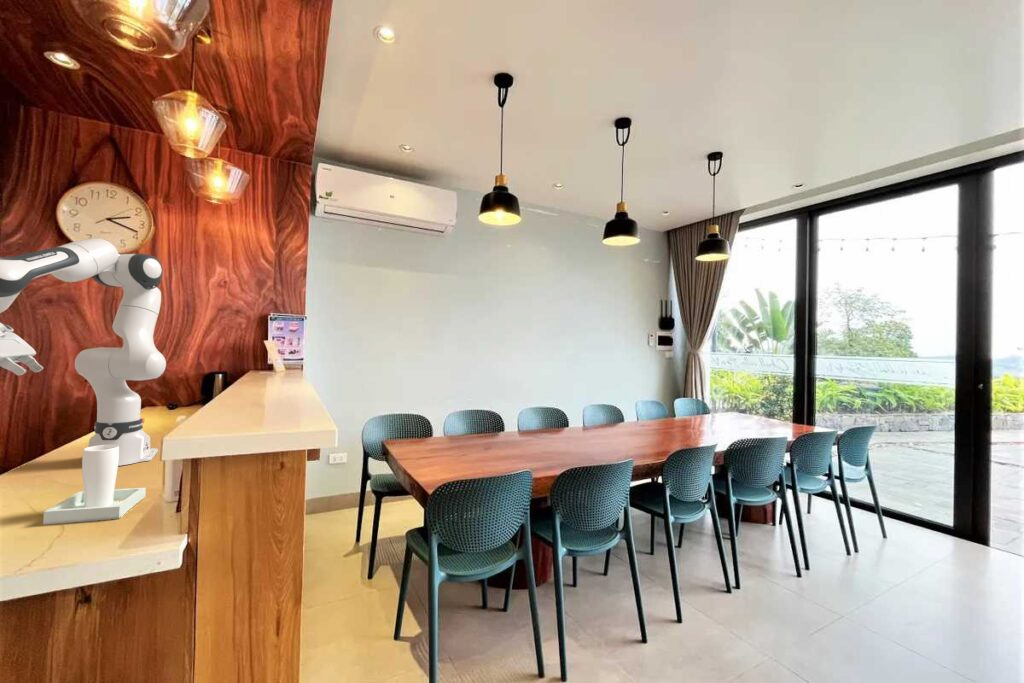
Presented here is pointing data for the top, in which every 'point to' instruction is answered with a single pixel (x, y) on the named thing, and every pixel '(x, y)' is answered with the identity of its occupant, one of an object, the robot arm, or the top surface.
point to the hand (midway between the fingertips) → (31, 372)
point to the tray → (92, 508)
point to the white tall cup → (99, 474)
